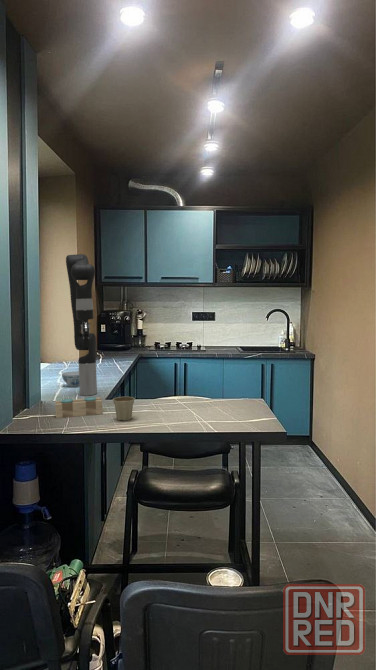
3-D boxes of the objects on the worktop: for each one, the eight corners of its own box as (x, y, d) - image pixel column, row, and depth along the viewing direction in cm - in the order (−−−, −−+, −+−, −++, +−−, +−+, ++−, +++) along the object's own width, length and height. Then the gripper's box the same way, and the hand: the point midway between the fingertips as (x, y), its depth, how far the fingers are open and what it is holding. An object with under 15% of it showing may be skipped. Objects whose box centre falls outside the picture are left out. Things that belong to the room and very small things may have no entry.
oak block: (56, 414, 202) (55, 401, 201) (101, 410, 207) (100, 397, 207) (56, 418, 195) (55, 404, 195) (102, 413, 201) (102, 400, 200)
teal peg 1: (61, 413, 202) (60, 399, 201) (73, 412, 203) (72, 398, 203) (61, 416, 197) (61, 401, 196) (73, 415, 198) (73, 400, 198)
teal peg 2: (84, 411, 204) (83, 397, 204) (96, 410, 206) (95, 396, 205) (85, 414, 199) (84, 399, 199) (96, 413, 201) (96, 398, 200)
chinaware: (91, 383, 277) (90, 371, 276) (83, 388, 262) (82, 375, 261) (67, 383, 278) (67, 371, 278) (58, 388, 263) (57, 375, 263)
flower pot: (140, 417, 193) (139, 398, 192) (125, 423, 185) (124, 402, 184) (123, 415, 198) (123, 395, 197) (108, 420, 190) (107, 399, 190)
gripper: (75, 308, 209) (77, 345, 211) (76, 309, 196) (78, 349, 198) (92, 308, 211) (93, 344, 213) (94, 309, 198) (95, 348, 200)
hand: (86, 346), depth 205 cm, fingers closed
